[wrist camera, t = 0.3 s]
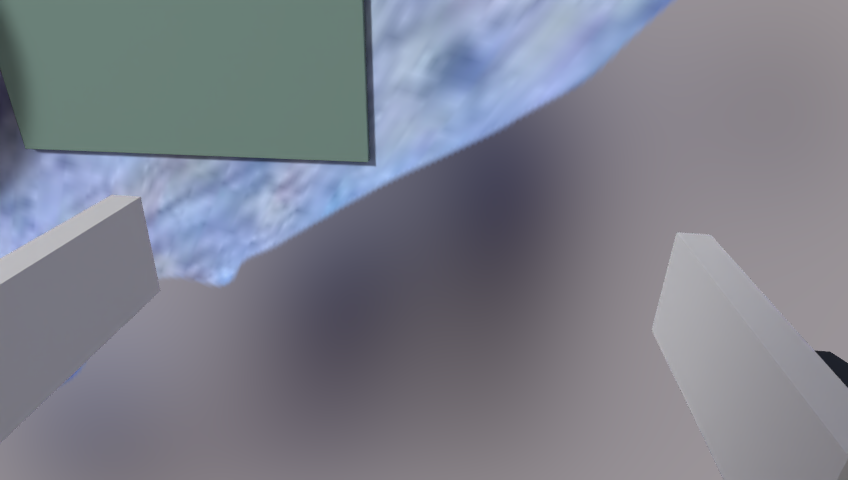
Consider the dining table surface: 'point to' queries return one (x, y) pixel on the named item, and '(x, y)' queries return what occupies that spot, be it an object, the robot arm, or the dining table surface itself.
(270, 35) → the mat
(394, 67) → the dining table surface
